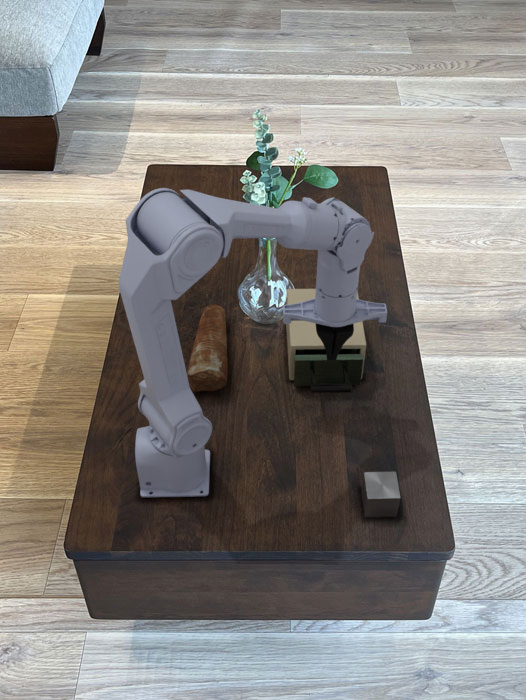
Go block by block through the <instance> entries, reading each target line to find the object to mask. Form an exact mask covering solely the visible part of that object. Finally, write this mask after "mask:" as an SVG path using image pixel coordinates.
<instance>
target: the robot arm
mask: <svg viewBox="0 0 526 700" xmlns="http://www.w3.org/2000/svg"><path fill="white" fill-rule="evenodd" d="M179 191H180V193H182V195H183V196H184V198H182V196H181V195H180V194H179V193H178V192H177V191H175V190H174V189H172V188H168V187H160V188H156V189H153V190H151V191H149V192H148V193H146V194H145V195H144V196H143V197H141V199H140V200H139V201H138V202H137V203H136V205H135V207H134V208H133V209H132V211H130V213H129V214H128V216H127V218H125V226H126V228H125V229H126V234H127V243H126V247H125V252H124V256H123V261H122V265H121V270H120V275H119V278H118V289H119V292H120V296H121V300H122V303H123V307H124V311H125V315H126V319H127V321H128V325H129V329H130V332H131V337H132V340H133V343H134V347H135V350H136V354H137V358H138V361H139V364H140V365H139V366H140V369H141V372H142V375H143V380H141V381H140V382H139V383H138V387H139V390H140V391H139V392H140V393H139V397H138V401H137V407H138V411H139V412H140V413H141V415H142V416H144V417H145V418H146V419H147V421H148V424H149V425H147V426H143V427H137V429H136V434H135V442H134V443H135V444H134V445H135V446H134V454H135V455H134V456H135V457H134V458H135V459H134V460H135V466H136V467H135V468H136V473H137V477H138V478H137V479H138V483H139V488H140V490H139V491H140V494H139V495H140V497H141V498H186V497H187V498H188V497H189V498H190V497H191V498H192V497H196V498H197V497H207V496H209V494H210V471H211V470H210V469H211V451H210V450H209V449H206V445H207V443H208V442H209V440H210V438H211V437H212V436H211V435H212V433H213V424H212V421H210V420H209V419H208V418H207V417H206V416H205V415H204V413H203V409H202V406H201V405H200V403H199V401H198V400H197V398H196V396H195V395H194V392H193V391H191V389H190V386H189V382H188V377H187V368H186V364H185V363H186V362H185V358H184V355H183V351H182V345H181V341H180V336H179V332H178V327H177V323H176V318H175V313H174V309H173V308H174V307H173V303H172V301H176V300H178V299H179V298H180V297H181V296H183V295H184V294H185V293H186V292H187V291H189V289H190V288H191V287H193V286H194V285H195V284H196V283H197V282H198V281H200V280H201V279H202V278H203V277H204V276H205V275H207V273H209V271H211V270H212V269H213V268H214V266H216V264H217V263H218V262H219V260H220V258H222V259H224V258H227V257H228V255H229V253H230V250H231V246H232V242H233V240H234V239H275V240H276V241H277V242H278V244H279V245H280V246H281V247H283V248H286V249H292V250H293V249H294V250H307V251H317V261H316V262H317V264H316V281H315V289H316V293H315V299H311V300H308V301H304V302H300V303H296V304H290V305H287V304H283V305H282V324H283V325H286V324H290V323H291V321H308V322H312V323H316V332H317V335H318V337H319V338H320V339H321V341H322V343H323V345H324V347H325V350H326V356H327V360H336V359H337V356H338V354H339V352H340V350H341V348H342V346H343V345H344V343H345V342H346V341H347V340H348V339H349V338H350V337H351V336H352V335H353V332H354V325H353V324H354V323H357V322H361V321H362V322H364V321H371V320H372V321H373V320H377V322H378V323H387V318H388V309H387V304H386V303H381V302H372V301H368V300H363V299H360V298H359V299H357V291H358V290H359V279H360V272H361V271H360V269H361V265H362V264H363V262H364V261H365V255H366V252H367V250H368V249H369V247H370V245H371V243H372V241H373V239H374V235H375V231H372V229H371V224H370V222H369V220H368V219H367V218H365V217H364V216H362V214H359V213H358V211H356V210H354V209H353V208H352V207H350V206H349V205H347V204H346V203H345V202H343V201H341V200H340V199H338V198H335V197H330V198H328V199H325V200H324V201H322V202H320V203H318V202H316V201H315V200H313V199H312V198H311V197H305V196H304V197H302V200H301V201H300V200H299V201H298V200H287V201H285V202H283V203H282V204H280V206H279V207H278V208H276V207H271V206H266V205H260V204H255V203H249V202H244V201H239V200H233V199H227V198H223V197H219V196H213V195H209V194H206V193H203V192H200V191H196V190H192V189H179Z"/></svg>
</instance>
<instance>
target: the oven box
mask: <svg viewBox="0 0 526 700" xmlns="http://www.w3.org/2000/svg"><path fill="white" fill-rule="evenodd" d="M315 293H316V288H287V289H286V305H290V304H296V303H300V302H304V301H308V300H311V299H315ZM357 299H359V300H360V298H359V292H358V290H357ZM353 325H354V332H353V335H352V336H351V337H350V338H349V339H348V340H347V341H346V342H345V343H344V345H343V346H342V348H341V349H357V354H363V367H362V375H361V380H363V374H364V367H365V366H364V365H365V360H366V351H367V340H366V334H365V329H364V321H361V322H357V323H354V324H353ZM285 328H286V329H285V330H286V344H287V360H288V361H287V363H288V379H289V381H294V361H295V355H296V349H325V347H324V345H323V343H322V341H321V339H320V338H319V337H318V335H317V332H316V323H312V322H308V321H291V323H290V324H285Z"/></svg>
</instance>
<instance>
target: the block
mask: <svg viewBox="0 0 526 700" xmlns="http://www.w3.org/2000/svg"><path fill="white" fill-rule="evenodd" d="M360 492H361V500H362V508H363V514H364V518H397V517H398V513H399V508H400V502H401V491H400V486H399V480H398V475H397V471H364V472H363V476H362V483H361V491H360Z"/></svg>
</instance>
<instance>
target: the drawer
mask: <svg viewBox="0 0 526 700" xmlns="http://www.w3.org/2000/svg"><path fill="white" fill-rule="evenodd" d="M362 367H363V354H357V349H341V350H340V352H339V354H338V356H337V359H336V360H327V356H326V350H325V349H296V355H295V361H294V380H293V386H294V387H310V394H329V393H330V394H331V393H332V394H334V393H336V394H337V393H339V394H340V393H352V386H361V382H362V379H361V375H362ZM363 368H364V367H363ZM362 376H363V375H362Z"/></svg>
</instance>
